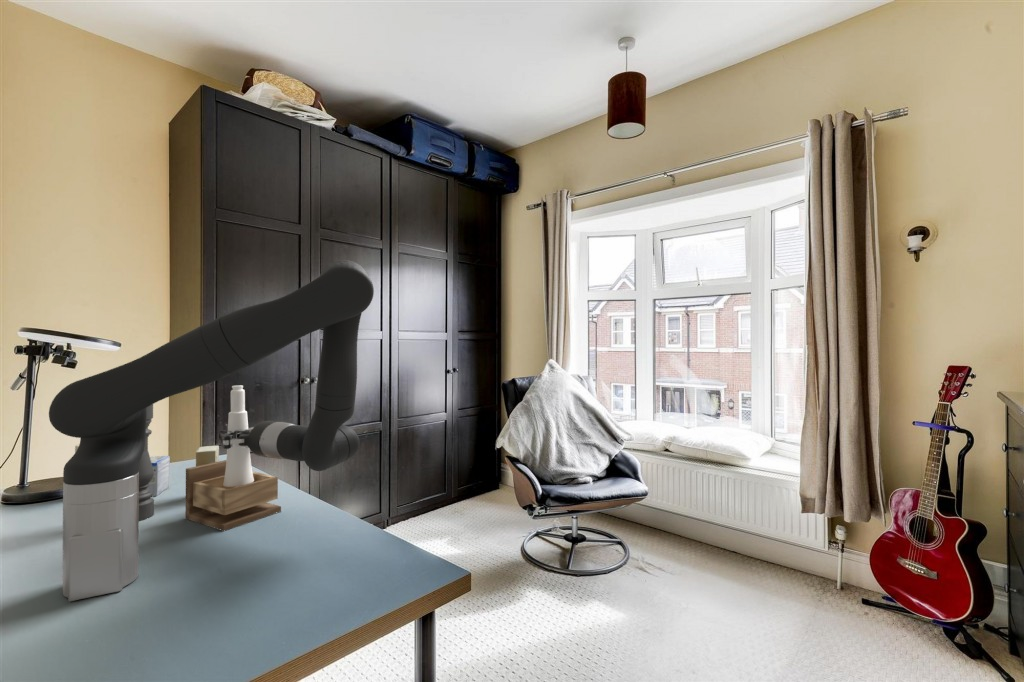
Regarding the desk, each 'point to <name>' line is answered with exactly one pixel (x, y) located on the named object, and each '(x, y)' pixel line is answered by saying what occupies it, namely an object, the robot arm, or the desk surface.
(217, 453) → the skincare box
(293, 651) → the desk surface
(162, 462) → the medicine box
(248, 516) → the wooden box caddy
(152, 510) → the candle holder
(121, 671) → the desk surface
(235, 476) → the cosmetic bottle
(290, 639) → the desk surface
